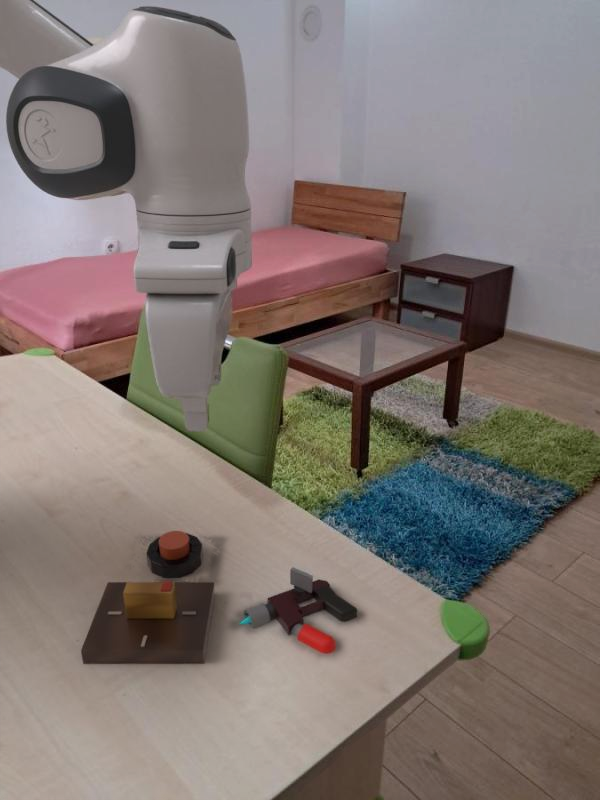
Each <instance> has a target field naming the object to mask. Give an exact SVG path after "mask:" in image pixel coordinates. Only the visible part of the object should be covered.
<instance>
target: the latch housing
mask: <svg viewBox="0 0 600 800" xmlns="http://www.w3.org/2000/svg"><path fill="white" fill-rule="evenodd" d="M185 533H186V534H187V535H188V536H189V545H190V552H189V554H188V555H187V556H186V557H183V558H180V559H177V560H166V559H164V558H162V557H161V556H160V550H159V539H160V537H161V536H162V535H160V536H158V537H156V538H155V539H154V540H153V541H152V542H151V543H150V544H149V545H148V548H147V550H146V561H147V562H146V563H147V566H148V568H149V570H150V571H151V573H152V574H153V575H156V576H159V577H160V578H162V579H163V578H164V579H179V578H182V577H186V576H188V575H192V574H193V573H194V572H195V571H196V570H198V569H199V568H200V567H201V566H202V563H203V558H204V551H203V549H204V548H203V543H202V542H201V540H200V539H199V538H198V536H196V535H193V534H191V533H187V532H185Z"/></svg>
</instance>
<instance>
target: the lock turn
mask: <svg viewBox="0 0 600 800" xmlns="http://www.w3.org/2000/svg"><path fill="white" fill-rule="evenodd" d="M126 582H127V584H126V586H125V589H124V592H123V595H124V602H125V609H126V617H127V619H174V618H175V614H176V610H177V604H176V593H175V583H174V582H175V581H171V580H170V581H169V580H167V581H166V580H165V581H164V580H163V581H126Z"/></svg>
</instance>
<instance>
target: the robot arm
mask: <svg viewBox="0 0 600 800" xmlns="http://www.w3.org/2000/svg"><path fill="white" fill-rule="evenodd" d="M0 68H1V69H3V70H4V71H7V72H8V73H10V74H11V75H13V76H14V77H15V78H17V79H18V80H17V81H16V83H15V85H14V86H13V89H12V91H11V93H10V95H9V99H8V101H7V107H6V116H5V117H6V118H5V122H6V123H5V124H6V133H7V139H8V143H9V146H10V149H11V152H12V154H13V156H14V159H15V161H16V162H17V164H18V166H19V167H20V168H21V171H22V172H23V174H24V175H25V176H26V177H27V178H28V179H29V180H30V181H31V183H33V184H34V186H36V187H37V188H38V189H40V190H41V191H43V192H44V193H45V194H48V195H50V196H52V197H56V198H59V199H69V200H74V201H87V200H96V199H101V198H106V197H115V196H116V197H117V196H120V195H125V194H126V195H127V194H129V195H131V197H132V198H133V200H134V204H135V211H136V212H135V213H136V223H137V246H138V247H137V251H136V255H135V258H134V262H133V266H132V274H133V285H134V289H135V292H137V293H140V294H145V298H144V314H145V322H146V323H145V324H146V330H147V331H146V332H147V336H148V344H149V350H150V355H151V361H152V367H153V374H154V378H155V381H156V382H155V383H156V385H157V387H158V389H159V392H160V393H161V395H162V396H163V397H164V398H166V399H178V400H179V403H180V405H181V408H182V411H183V415H184V427H185V429H186V430H187V431H189V432H205V431H206V430H207V429H208V427H209V423H210V406H209V405H210V404H208V397H209V396H210V394H211V392H212V388H213V386H214V387H215V386H218V385H220V383H221V380H222V358H223V351H224V347H225V344H226V341H227V338H228V334H229V330H230V327H231V325H232V321H233V315H234V312H233V311H234V308H233V307H234V306H233V305H234V304H233V303H234V302H233V291H235V290H236V288H237V287H238V277H240V276H241V274H243V273H245V272H247V271H249V270H250V269H251V268H252V266H253V254H252V253H253V251H252V250H253V247H252V246H253V245H252V242H253V241H252V207H251V204H252V203H251V198H250V195H249V191H248V187H247V183H246V165H247V161H248V156H249V153H250V127H249V126H250V121H249V107H248V94H247V85H246V76H245V70H244V64H243V58H242V53H241V49H240V46H239V43H238V41H237V39H236V37H235V36H234V35H233V34H232V33H231V31H230V30H229V29H228V28H227V27H225V26H224V25H223V24H221V23H219V22H217V21H215V20H212V19H209V18H207V17H203V16H198V15H195V14H190V13H189V12H185V11H180V10H176V9H171V8H166V7H161V6H151V5H150V6H149V5H148V6H147V5H146V6H145V5H144V6H138V7H136V8H133V9H130V10H129V11H127V13H126V14H125V16H124V17H123V19H122V20H121V22H120V23H119V24H118V25H117V26H116V28H114V30H113V31H111V32H110V33H109V34H108V35H106V36H105V37H103V38H102V39H101V40H99V41H97V42H95V44H94V43H92V42H91V41H90V40H88V39H87V38H86V37H84V36H83V35H82V34H81V33H79V32H78V31H76V30H75V29H73V28H72V27H71V26H69V25H68V24H66V22H64V21H63V20H61V19H60V18H59V17H57V16H55V15H54V14H53V13H52V12H50V11H49V10H48V9H46V8H45V7H44V6H42V5H41V4H39V3H38V2H37V1H35V0H0Z"/></svg>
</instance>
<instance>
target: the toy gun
mask: <svg viewBox="0 0 600 800" xmlns="http://www.w3.org/2000/svg"><path fill="white" fill-rule="evenodd" d="M289 571H290V573H289V577H290V578H289V581H290V582H289V584H290V585H292V586H293V588H291V589H289V590H286V591H283V592H280V593H277V594H274V595H272V596H269V597H267V602H266V603H263V602H262V603H261V602H260V603H259V604H256V605H254V606H251V607H248V608H245V609H243V615H244V616H246V615H248V616H246V618H244V619H243V620H242V621H241V622H239V623H238V625H246V624H251V628H252V629H256V628H258V627H261V626H264V625H266V624H269V623H271V621H273V620H275V619H276V620H277V621H278V623H279V624H280V626H281V627H282V628H283V630H284V631H285V632H286V634H287V635H288V636H289V635H293V636H295V637H297V641H299V642H301V643H303V644H305V645H307V646H308V647H310V648H312V649H314V650H315V651H318V652H319V653H321V654H325V655H326V654H331V653H333V652H334V651H335V650H336V647H337V642H336V640H335V638H334V637H333V636H331V635H330V634H327V633H326V632H324V631H322V630H320V629H318V628H316V627H314V626H312V625H310V624H308V623H305V624H304V618H306V617H308V616H311V615H313V614H315V613H318V612H321V611H323V610H324V611H326V612H327V613H329V614H330V615H331V616H333V617H334V618H335V619H337V620H338V621H340V622H341V623H345V622H348V621H350V620H353V619H356V618H357V617H358V609H357V607H355V606H354V605H353V604H351V603H350V602H348V601H347V600H345V599H344V598H343V597H341V596H339V595H338V594H337V593H336V592H335V591H334V590H333V589H332V587H331V584H330V583H329V582H328V581H327V580H325V579H316V580H314V576H313V575H312V574H310V573H308V572H306V571H303V570H301V569H298V568H296V567H294V566H291V568H290V570H289ZM313 580H314V581H313ZM313 599H314V600H315V601H313V602H311V603H308V604H306V605H303V606H300V604H302V603H303V604H304V603H305V602H307V601H310V600H313Z"/></svg>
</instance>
